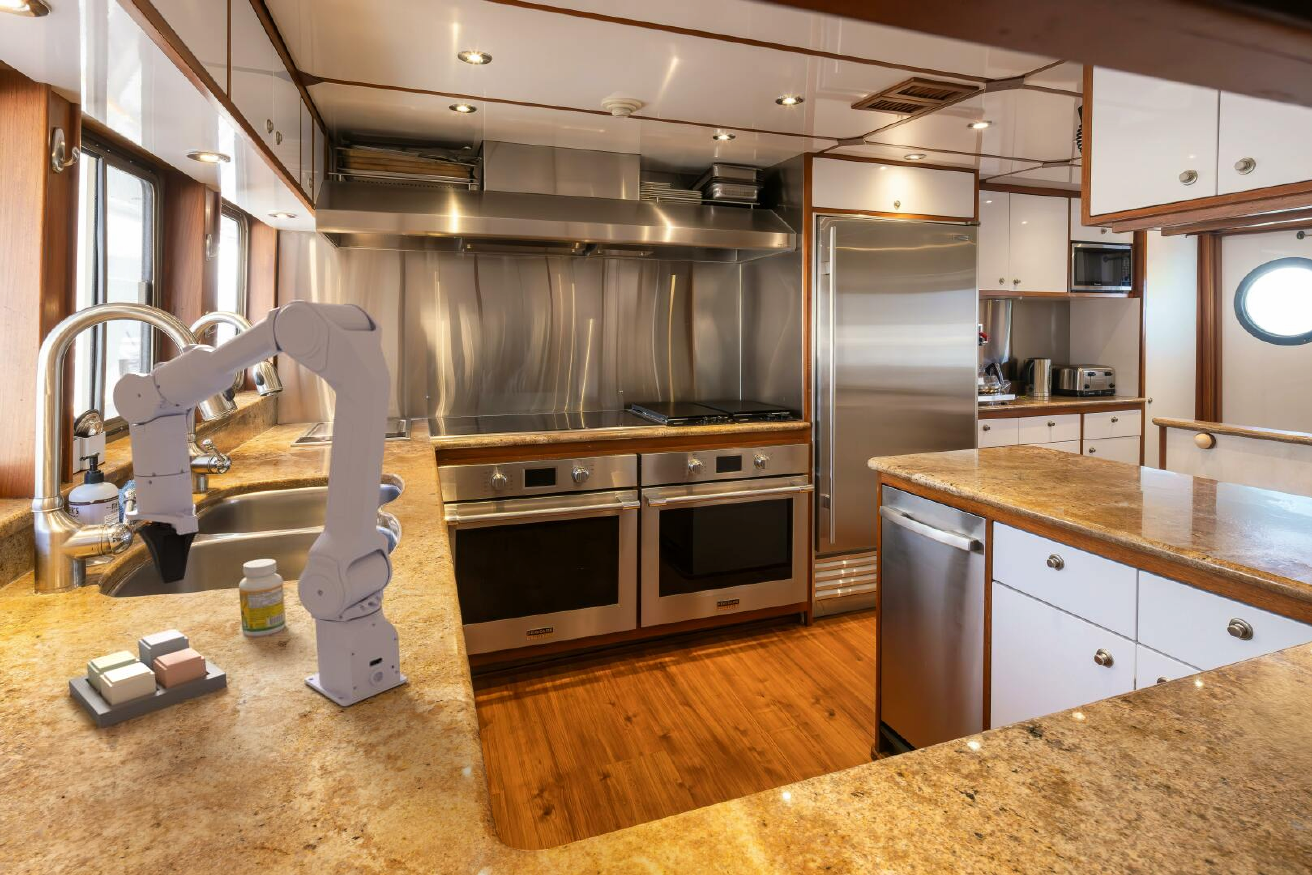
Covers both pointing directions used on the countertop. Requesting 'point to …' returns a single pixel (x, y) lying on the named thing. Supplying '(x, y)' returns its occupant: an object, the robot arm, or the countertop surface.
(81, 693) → the keypad board
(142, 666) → the key cream
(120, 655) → the key sage
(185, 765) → the countertop surface
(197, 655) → the key terracotta
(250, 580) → the supplement bottle
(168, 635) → the key slate
